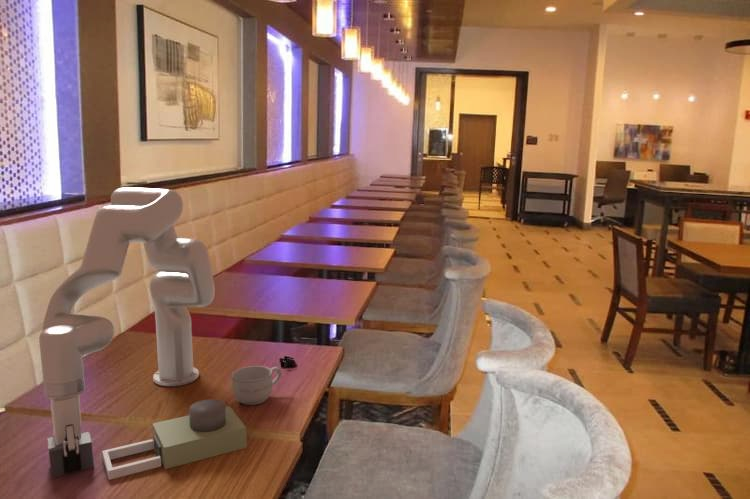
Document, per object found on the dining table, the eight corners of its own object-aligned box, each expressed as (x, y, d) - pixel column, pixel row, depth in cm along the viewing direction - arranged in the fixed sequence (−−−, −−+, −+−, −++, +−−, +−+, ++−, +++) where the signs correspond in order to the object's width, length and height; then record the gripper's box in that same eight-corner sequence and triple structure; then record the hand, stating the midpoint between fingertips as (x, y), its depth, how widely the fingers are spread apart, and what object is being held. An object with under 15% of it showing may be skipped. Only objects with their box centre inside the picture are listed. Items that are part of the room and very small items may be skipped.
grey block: (50, 466, 129) (47, 438, 128) (91, 456, 133) (88, 429, 132) (51, 477, 125) (48, 448, 124) (93, 467, 129) (91, 439, 128)
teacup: (238, 412, 155) (237, 383, 153) (227, 395, 164) (226, 368, 162) (289, 402, 161) (289, 373, 159) (276, 386, 170) (276, 359, 169)
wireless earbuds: (296, 366, 182) (280, 361, 181) (293, 373, 182) (277, 369, 181) (295, 357, 189) (280, 353, 188) (293, 364, 189) (277, 360, 188)
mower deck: (101, 455, 134) (98, 418, 132) (230, 425, 148) (229, 390, 146) (109, 483, 124) (106, 443, 122) (246, 447, 138) (245, 411, 136)
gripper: (42, 373, 131) (49, 450, 134) (46, 405, 116) (54, 490, 120) (80, 367, 134) (86, 442, 138) (89, 397, 120) (95, 479, 124)
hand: (71, 463), depth 129 cm, fingers closed on grey block, 5 cm apart
